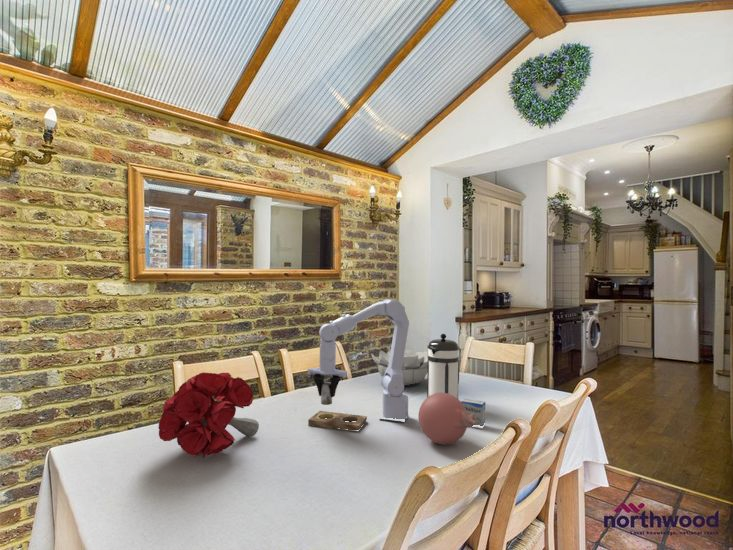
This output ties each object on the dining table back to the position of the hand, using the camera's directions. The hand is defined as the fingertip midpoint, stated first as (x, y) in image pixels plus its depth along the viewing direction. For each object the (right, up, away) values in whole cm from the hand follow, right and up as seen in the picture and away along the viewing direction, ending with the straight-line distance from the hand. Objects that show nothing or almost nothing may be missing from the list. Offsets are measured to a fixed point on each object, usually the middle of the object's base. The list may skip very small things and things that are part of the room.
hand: (326, 395), depth 138 cm
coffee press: (+46, -11, +20) cm, 51 cm away
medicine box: (+52, -11, -1) cm, 53 cm away
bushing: (0, -3, 0) cm, 3 cm away
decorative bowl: (+33, -12, +55) cm, 65 cm away
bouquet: (-31, -9, -24) cm, 40 cm away
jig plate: (+4, -9, -1) cm, 10 cm away
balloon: (+40, -10, -18) cm, 45 cm away
